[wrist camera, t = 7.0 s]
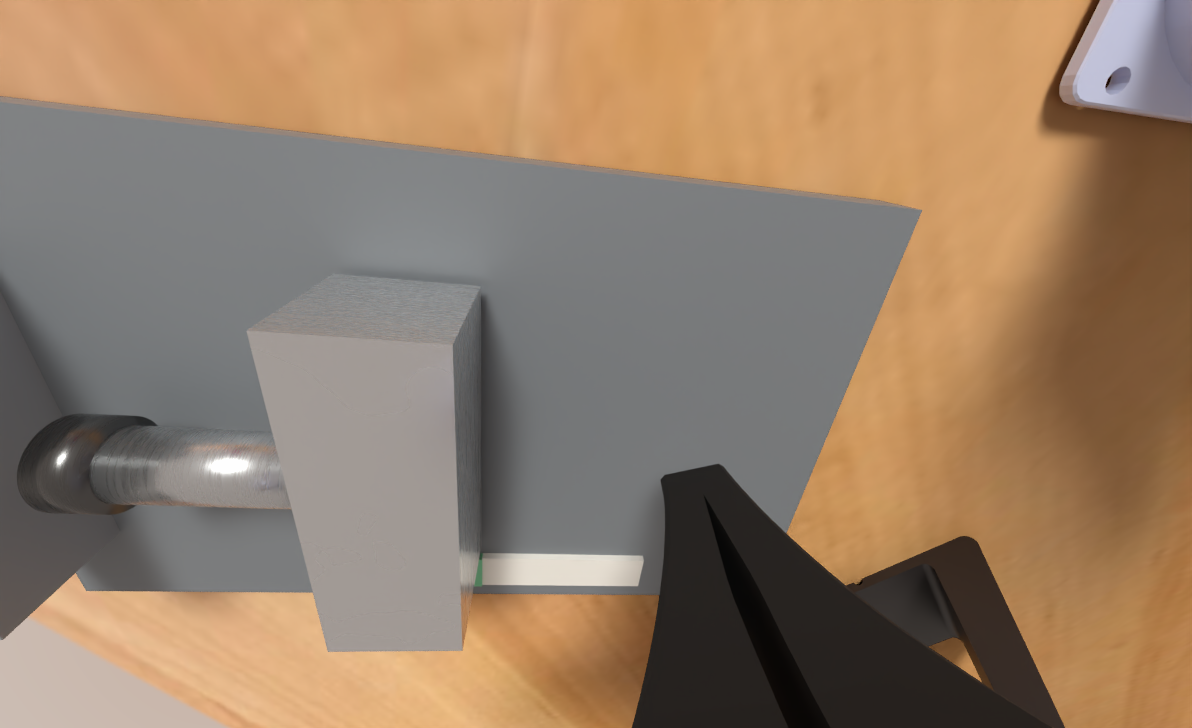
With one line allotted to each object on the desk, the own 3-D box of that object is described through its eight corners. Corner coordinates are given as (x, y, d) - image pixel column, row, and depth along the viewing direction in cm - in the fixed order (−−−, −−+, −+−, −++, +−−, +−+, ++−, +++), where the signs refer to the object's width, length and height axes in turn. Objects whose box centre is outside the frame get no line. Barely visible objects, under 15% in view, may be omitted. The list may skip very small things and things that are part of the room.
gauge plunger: (481, 286, 10) (452, 344, 7) (481, 593, 14) (463, 699, 12) (62, 250, 9) (-151, 302, 6) (204, 592, 13) (117, 706, 11)
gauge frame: (879, 200, 11) (1052, 239, 7) (744, 559, 17) (800, 689, 13) (-104, 83, 9) (-638, 48, 5) (128, 549, 15) (-30, 704, 11)
